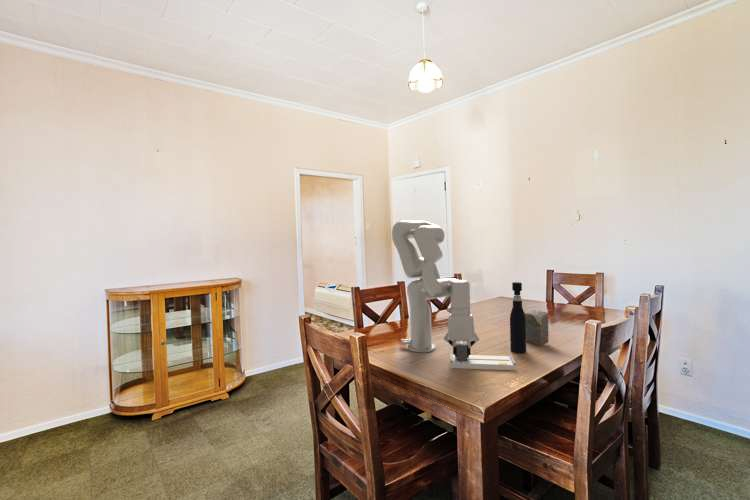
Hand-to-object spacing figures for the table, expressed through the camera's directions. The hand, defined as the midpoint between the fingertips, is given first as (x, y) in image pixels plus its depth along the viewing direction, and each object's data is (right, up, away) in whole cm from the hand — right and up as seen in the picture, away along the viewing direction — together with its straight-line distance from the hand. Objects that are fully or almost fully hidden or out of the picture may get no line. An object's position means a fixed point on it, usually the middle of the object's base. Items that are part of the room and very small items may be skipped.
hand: (461, 356), depth 144 cm
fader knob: (0, -1, 0) cm, 1 cm away
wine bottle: (+28, -2, +13) cm, 31 cm away
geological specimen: (+40, -1, +25) cm, 47 cm away
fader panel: (+8, -3, -1) cm, 8 cm away
